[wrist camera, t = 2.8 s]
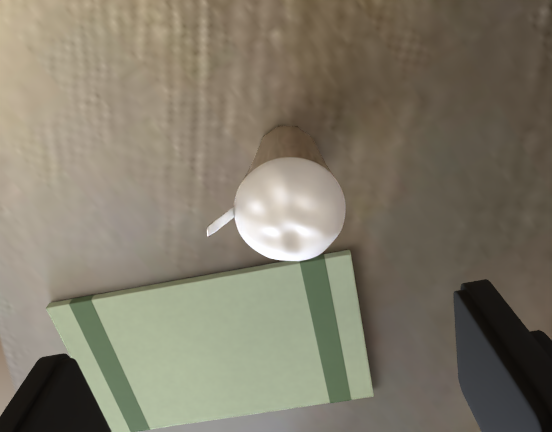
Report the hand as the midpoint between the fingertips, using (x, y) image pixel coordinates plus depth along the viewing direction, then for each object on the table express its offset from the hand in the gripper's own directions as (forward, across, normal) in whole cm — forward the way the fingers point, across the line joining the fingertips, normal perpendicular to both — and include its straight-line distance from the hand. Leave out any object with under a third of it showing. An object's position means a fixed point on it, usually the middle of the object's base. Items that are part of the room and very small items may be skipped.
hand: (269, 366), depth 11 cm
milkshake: (+17, 0, 0) cm, 17 cm away
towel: (+17, +6, +13) cm, 22 cm away
